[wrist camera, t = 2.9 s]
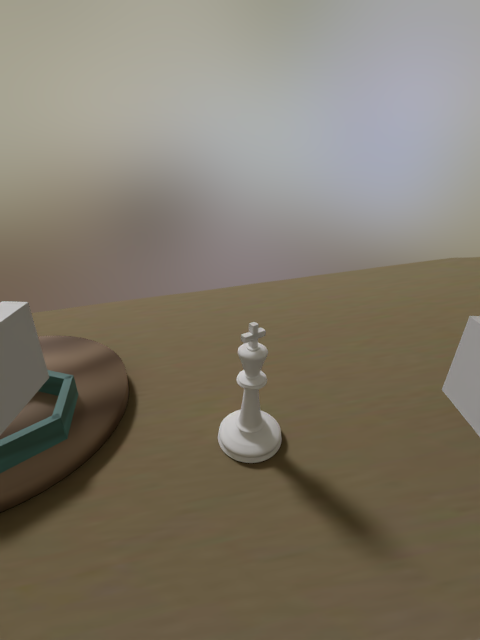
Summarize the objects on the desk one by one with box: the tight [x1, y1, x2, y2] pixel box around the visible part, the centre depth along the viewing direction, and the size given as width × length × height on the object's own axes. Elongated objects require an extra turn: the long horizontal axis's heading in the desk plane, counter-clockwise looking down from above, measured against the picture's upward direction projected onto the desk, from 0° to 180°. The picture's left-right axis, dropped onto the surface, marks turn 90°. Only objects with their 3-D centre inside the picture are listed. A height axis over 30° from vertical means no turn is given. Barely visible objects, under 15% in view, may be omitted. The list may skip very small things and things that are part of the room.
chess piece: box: [218, 322, 282, 463], centre depth 24 cm, size 5×5×10 cm
